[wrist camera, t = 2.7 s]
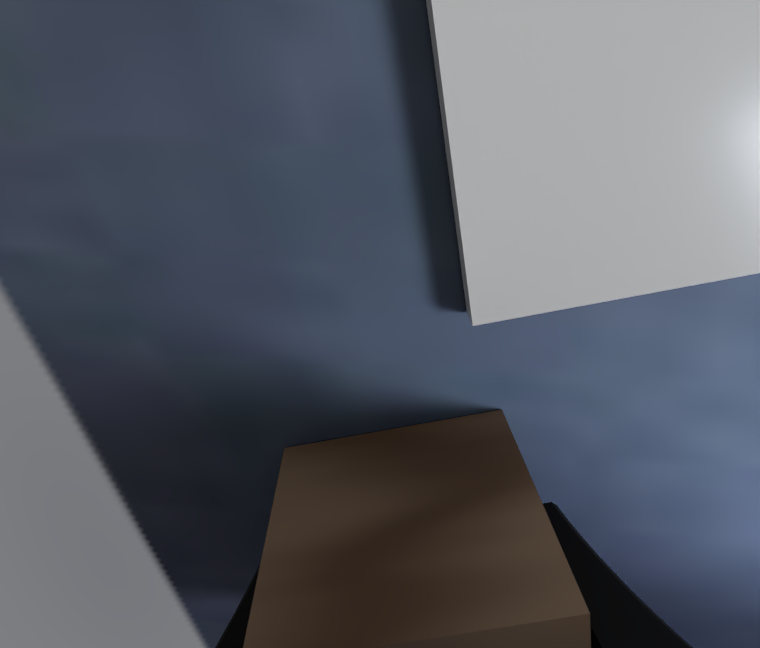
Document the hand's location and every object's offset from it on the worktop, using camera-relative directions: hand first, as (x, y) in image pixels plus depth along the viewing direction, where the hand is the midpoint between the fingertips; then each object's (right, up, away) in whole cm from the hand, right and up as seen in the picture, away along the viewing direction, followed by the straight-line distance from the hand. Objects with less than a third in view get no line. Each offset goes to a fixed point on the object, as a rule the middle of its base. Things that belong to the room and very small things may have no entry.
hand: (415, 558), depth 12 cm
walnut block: (0, +1, +1) cm, 1 cm away
